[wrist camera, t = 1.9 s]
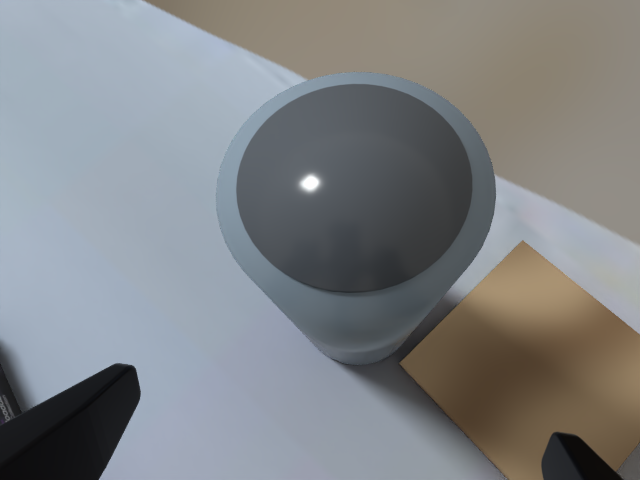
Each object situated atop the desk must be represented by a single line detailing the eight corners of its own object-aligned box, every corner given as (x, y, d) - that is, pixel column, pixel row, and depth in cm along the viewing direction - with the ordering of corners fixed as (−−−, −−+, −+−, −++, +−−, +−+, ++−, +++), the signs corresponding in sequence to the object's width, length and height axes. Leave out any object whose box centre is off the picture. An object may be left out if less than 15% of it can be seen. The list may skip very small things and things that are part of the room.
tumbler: (440, 307, 20) (561, 176, 8) (354, 391, 19) (344, 388, 7) (358, 230, 22) (355, 29, 10) (276, 302, 21) (162, 176, 9)
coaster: (682, 377, 18) (692, 377, 17) (556, 531, 16) (563, 536, 16) (518, 244, 21) (522, 240, 20) (398, 363, 19) (399, 362, 19)
